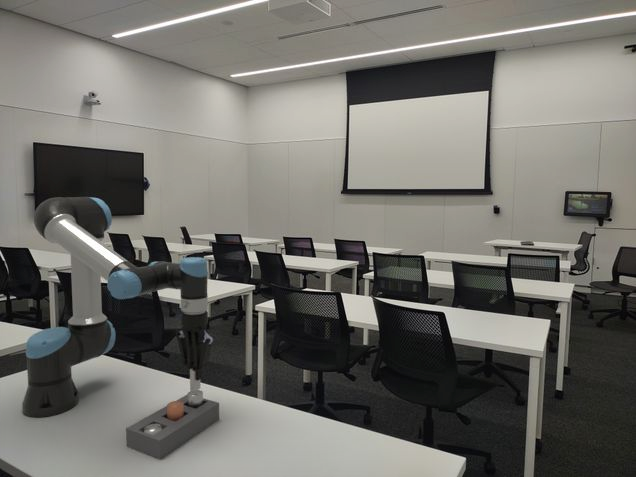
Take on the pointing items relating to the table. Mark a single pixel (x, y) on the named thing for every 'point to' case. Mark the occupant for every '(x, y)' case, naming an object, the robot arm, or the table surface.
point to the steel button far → (195, 399)
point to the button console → (171, 428)
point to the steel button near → (152, 429)
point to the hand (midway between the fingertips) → (195, 389)
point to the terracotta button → (175, 410)
